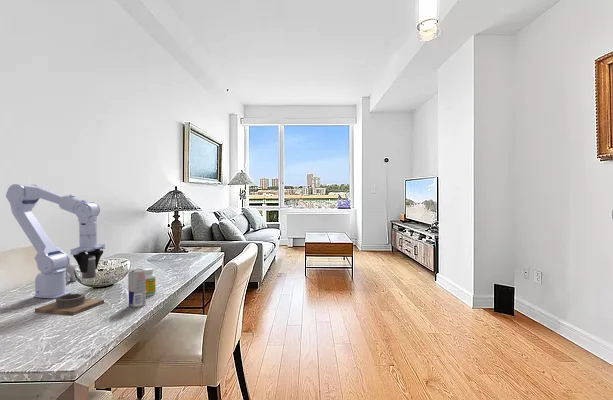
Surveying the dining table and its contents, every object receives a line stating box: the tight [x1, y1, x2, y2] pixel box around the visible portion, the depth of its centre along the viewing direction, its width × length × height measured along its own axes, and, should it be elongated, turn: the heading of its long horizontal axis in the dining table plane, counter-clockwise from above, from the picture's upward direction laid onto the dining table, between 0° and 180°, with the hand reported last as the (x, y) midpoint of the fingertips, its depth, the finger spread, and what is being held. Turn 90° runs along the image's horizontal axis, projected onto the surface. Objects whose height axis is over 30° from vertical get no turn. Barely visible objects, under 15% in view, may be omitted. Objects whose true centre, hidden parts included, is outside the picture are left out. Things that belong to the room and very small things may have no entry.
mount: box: [34, 293, 105, 316], centre depth 125 cm, size 15×13×4 cm
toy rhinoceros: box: [65, 261, 78, 285], centre depth 159 cm, size 7×12×8 cm, turn 12°
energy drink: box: [127, 268, 147, 309], centre depth 127 cm, size 5×5×12 cm
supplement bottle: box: [142, 267, 156, 297], centre depth 140 cm, size 5×5×10 cm
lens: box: [81, 255, 97, 280], centre depth 139 cm, size 4×4×8 cm
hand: (88, 270), depth 139 cm, fingers closed on lens, 4 cm apart
